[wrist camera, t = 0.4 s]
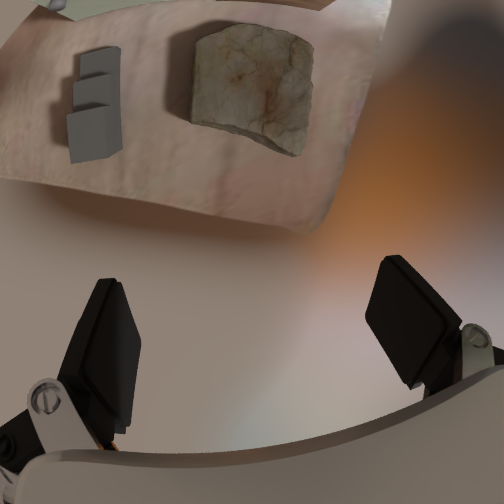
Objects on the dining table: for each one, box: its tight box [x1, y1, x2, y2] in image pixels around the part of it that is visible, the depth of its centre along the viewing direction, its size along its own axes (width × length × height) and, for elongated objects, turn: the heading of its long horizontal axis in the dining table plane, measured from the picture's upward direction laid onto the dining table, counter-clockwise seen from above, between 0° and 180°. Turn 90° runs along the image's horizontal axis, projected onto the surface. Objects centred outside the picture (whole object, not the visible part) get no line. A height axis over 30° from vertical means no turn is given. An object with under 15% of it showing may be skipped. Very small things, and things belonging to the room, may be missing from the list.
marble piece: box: [188, 23, 314, 157], centre depth 29 cm, size 17×15×4 cm
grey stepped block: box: [66, 46, 123, 164], centre depth 25 cm, size 14×5×6 cm, turn 178°
